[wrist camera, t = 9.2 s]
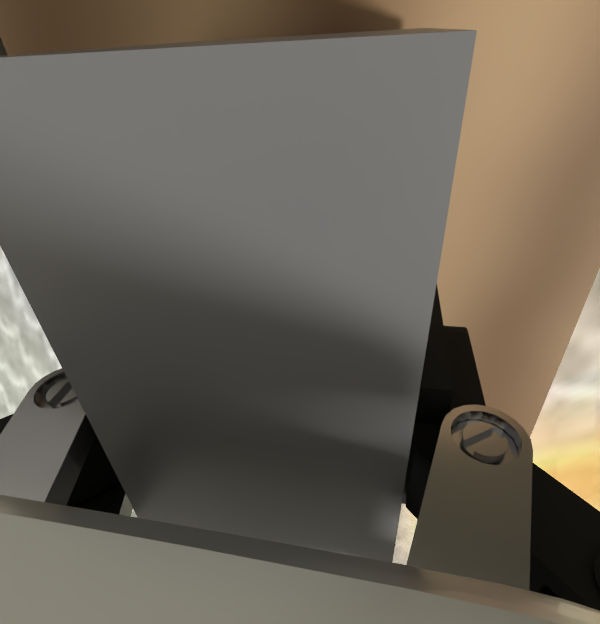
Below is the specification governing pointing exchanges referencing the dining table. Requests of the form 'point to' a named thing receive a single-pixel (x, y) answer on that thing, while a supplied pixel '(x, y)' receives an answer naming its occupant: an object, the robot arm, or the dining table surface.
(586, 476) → the dining table surface
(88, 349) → the block
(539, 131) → the board
